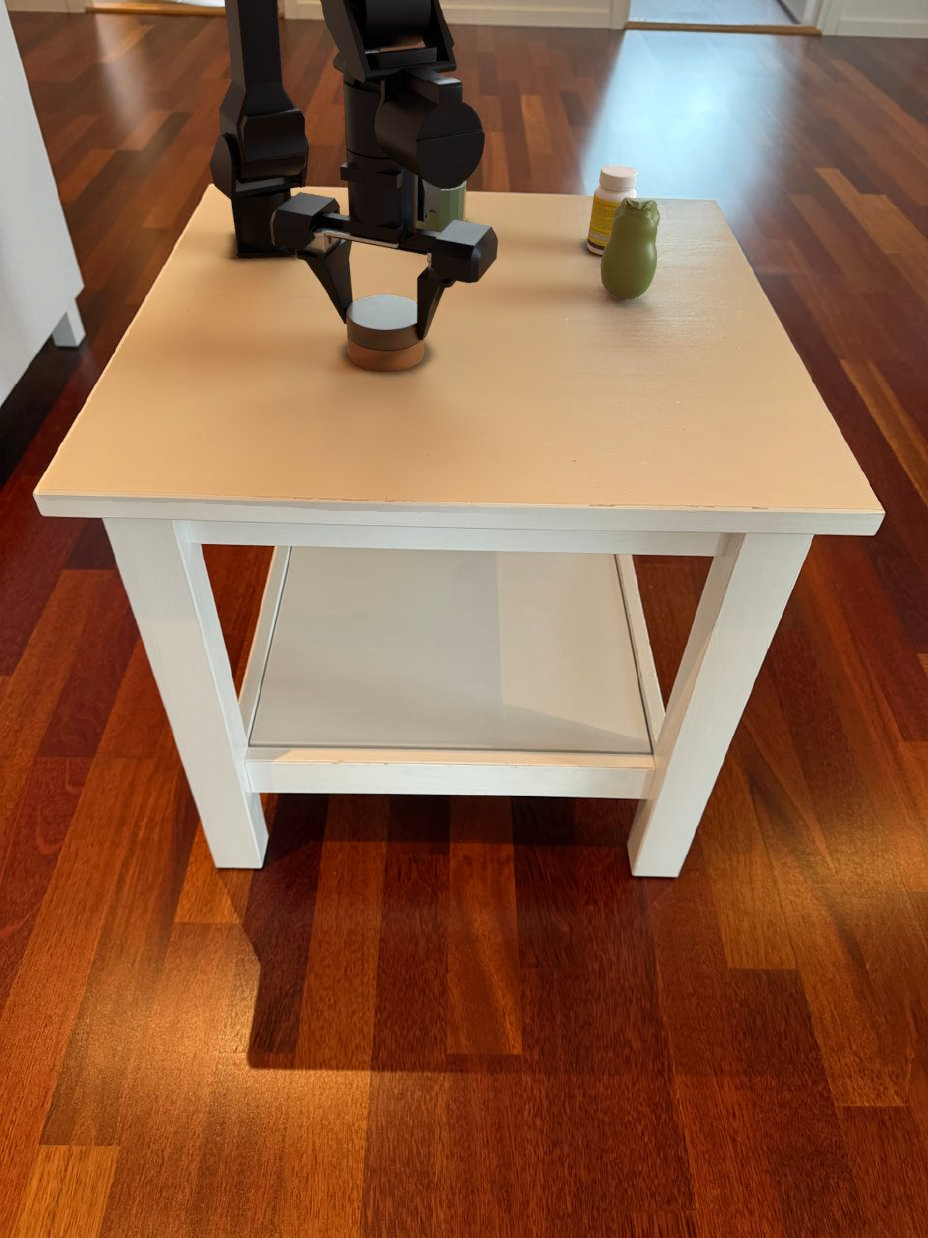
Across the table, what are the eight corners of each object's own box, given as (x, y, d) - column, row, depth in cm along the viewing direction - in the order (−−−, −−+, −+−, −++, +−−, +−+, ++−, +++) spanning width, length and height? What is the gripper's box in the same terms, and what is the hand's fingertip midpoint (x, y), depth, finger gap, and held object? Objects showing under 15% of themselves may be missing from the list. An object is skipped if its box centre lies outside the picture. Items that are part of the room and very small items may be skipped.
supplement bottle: (620, 260, 102) (633, 181, 96) (580, 251, 103) (591, 172, 97) (633, 245, 105) (646, 167, 99) (594, 236, 106) (605, 159, 101)
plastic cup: (418, 236, 104) (419, 190, 101) (411, 216, 108) (411, 172, 105) (468, 234, 105) (470, 189, 102) (459, 215, 109) (460, 170, 106)
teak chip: (352, 374, 82) (351, 353, 81) (344, 336, 87) (343, 316, 86) (429, 369, 83) (429, 349, 82) (417, 332, 88) (417, 313, 87)
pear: (593, 303, 94) (608, 203, 87) (599, 282, 98) (613, 184, 91) (648, 311, 93) (667, 210, 86) (651, 289, 97) (670, 190, 90)
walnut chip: (351, 353, 81) (350, 331, 79) (343, 316, 86) (342, 295, 84) (429, 348, 82) (429, 327, 80) (417, 312, 87) (417, 292, 85)
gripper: (523, 134, 76) (509, 312, 87) (319, 102, 80) (329, 276, 91) (481, 177, 69) (471, 366, 80) (257, 139, 72) (277, 325, 83)
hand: (385, 330), depth 84 cm, fingers closed on walnut chip, 7 cm apart
